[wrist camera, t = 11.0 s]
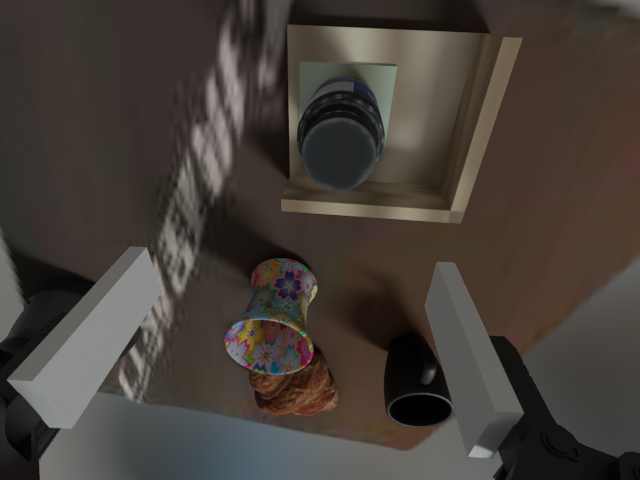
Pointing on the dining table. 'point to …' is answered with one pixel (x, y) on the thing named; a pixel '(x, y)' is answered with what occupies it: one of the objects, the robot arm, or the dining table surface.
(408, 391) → the mug
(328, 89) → the pill bottle
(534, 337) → the dining table surface
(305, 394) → the pastry
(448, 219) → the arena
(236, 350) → the mug
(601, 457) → the robot arm
